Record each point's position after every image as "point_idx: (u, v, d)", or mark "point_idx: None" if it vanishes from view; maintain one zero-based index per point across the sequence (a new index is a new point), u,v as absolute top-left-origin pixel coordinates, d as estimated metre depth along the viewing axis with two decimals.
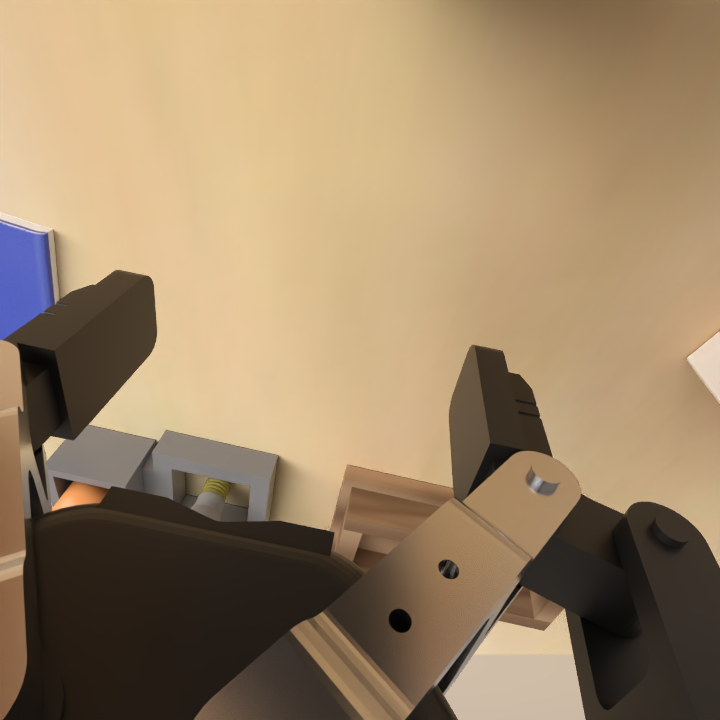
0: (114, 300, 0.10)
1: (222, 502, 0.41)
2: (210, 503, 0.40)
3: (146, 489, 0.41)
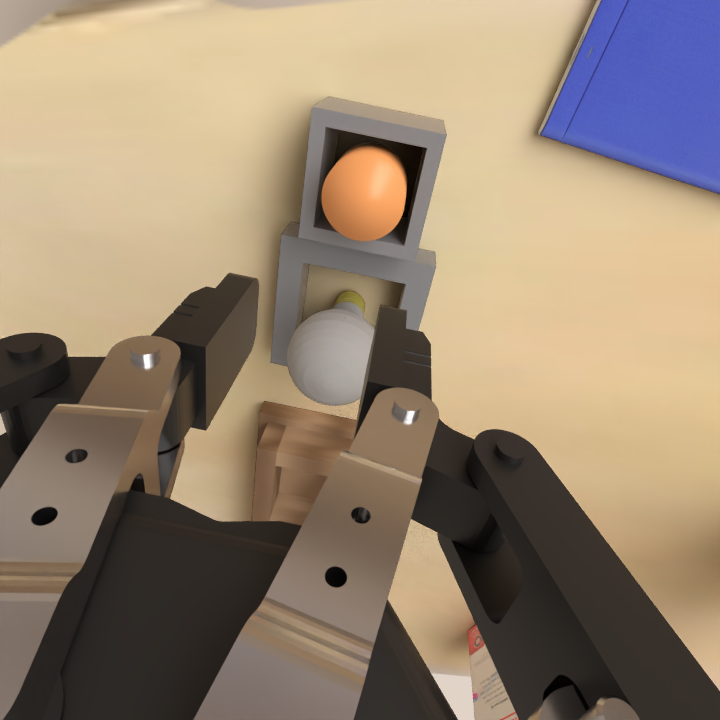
0: (237, 301, 0.11)
1: None
2: None
3: None
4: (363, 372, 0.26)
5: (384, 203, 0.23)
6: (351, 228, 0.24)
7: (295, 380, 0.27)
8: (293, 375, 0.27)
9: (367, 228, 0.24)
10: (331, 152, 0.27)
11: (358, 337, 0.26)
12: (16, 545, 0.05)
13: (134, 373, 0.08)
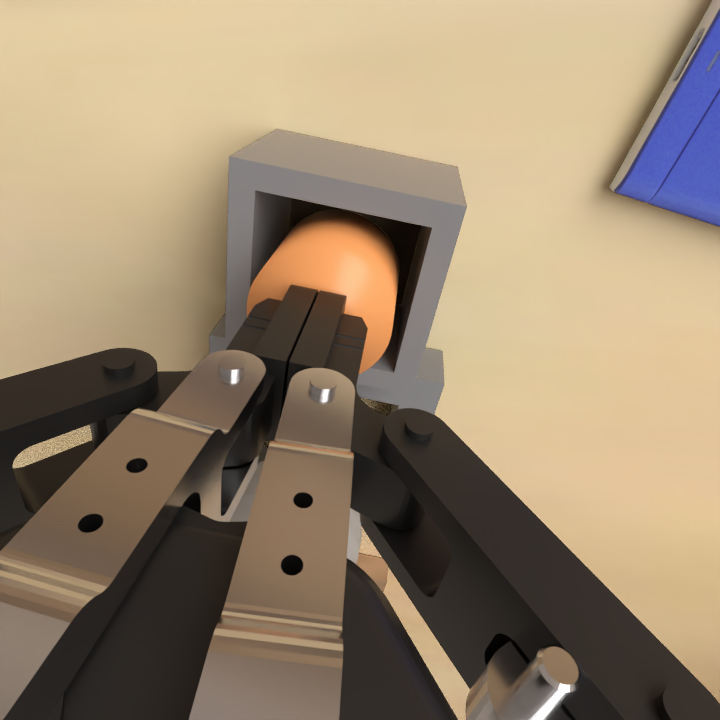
0: (306, 313, 0.11)
1: None
2: None
3: None
4: None
5: None
6: None
7: None
8: None
9: None
10: (279, 217, 0.17)
11: None
12: (57, 547, 0.05)
13: (226, 389, 0.08)
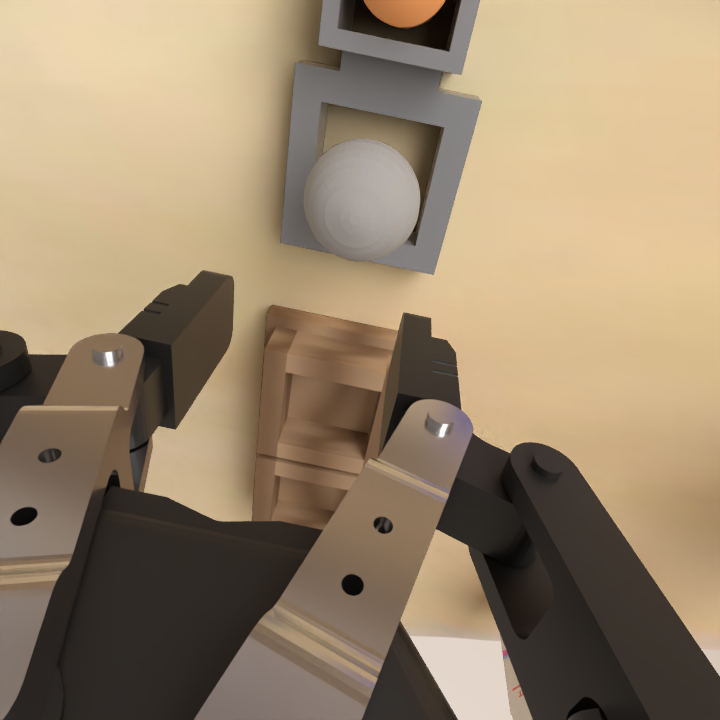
0: (209, 298, 0.11)
1: None
2: None
3: (388, 63, 0.24)
4: (399, 205, 0.21)
5: None
6: (390, 8, 0.20)
7: (314, 222, 0.22)
8: (312, 215, 0.22)
9: (409, 7, 0.20)
10: None
11: (393, 161, 0.21)
12: None
13: (94, 371, 0.08)
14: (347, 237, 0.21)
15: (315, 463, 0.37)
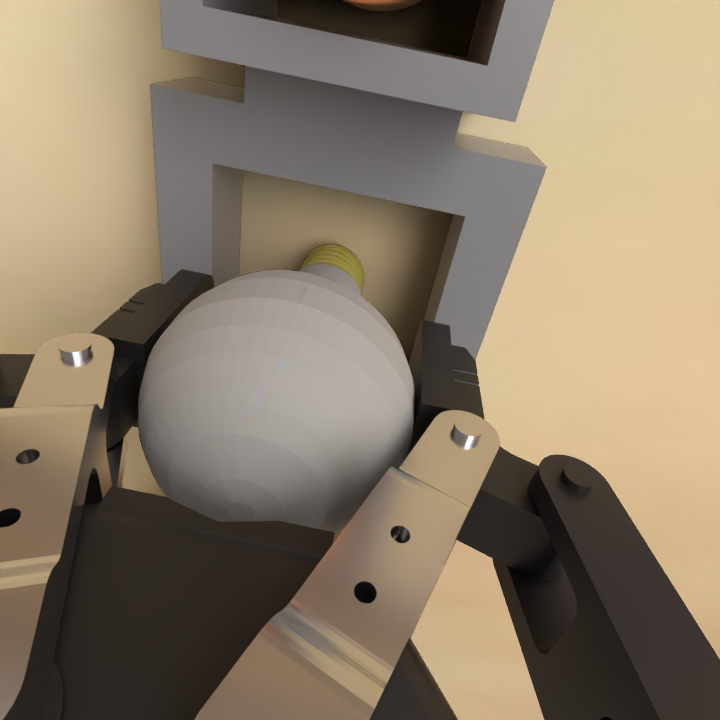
0: (185, 298, 0.11)
1: None
2: None
3: (346, 86, 0.11)
4: (360, 465, 0.08)
5: None
6: None
7: (156, 480, 0.09)
8: None
9: None
10: None
11: (344, 353, 0.08)
12: None
13: (60, 371, 0.08)
14: None
15: None
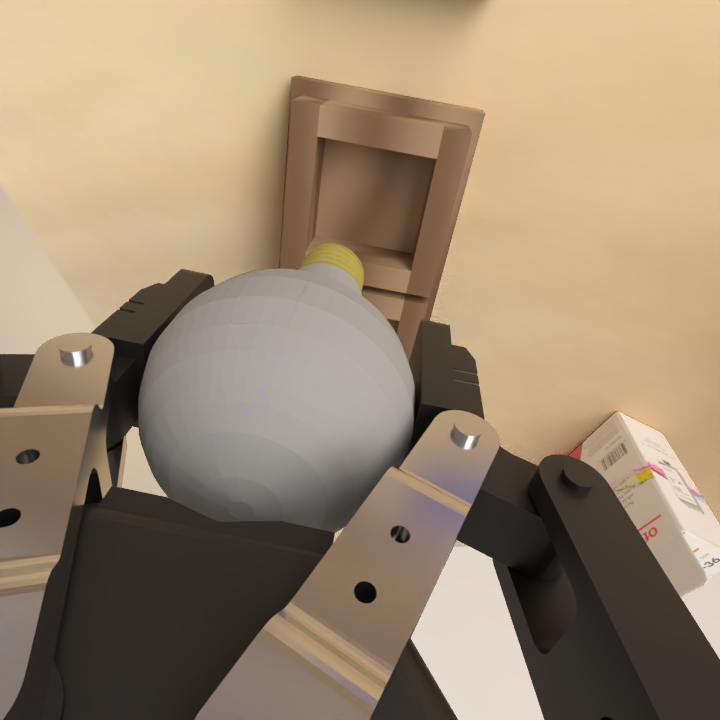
0: (185, 297, 0.11)
1: None
2: None
3: None
4: (360, 464, 0.08)
5: None
6: None
7: (156, 479, 0.09)
8: None
9: None
10: None
11: (344, 351, 0.08)
12: None
13: (60, 371, 0.08)
14: None
15: None
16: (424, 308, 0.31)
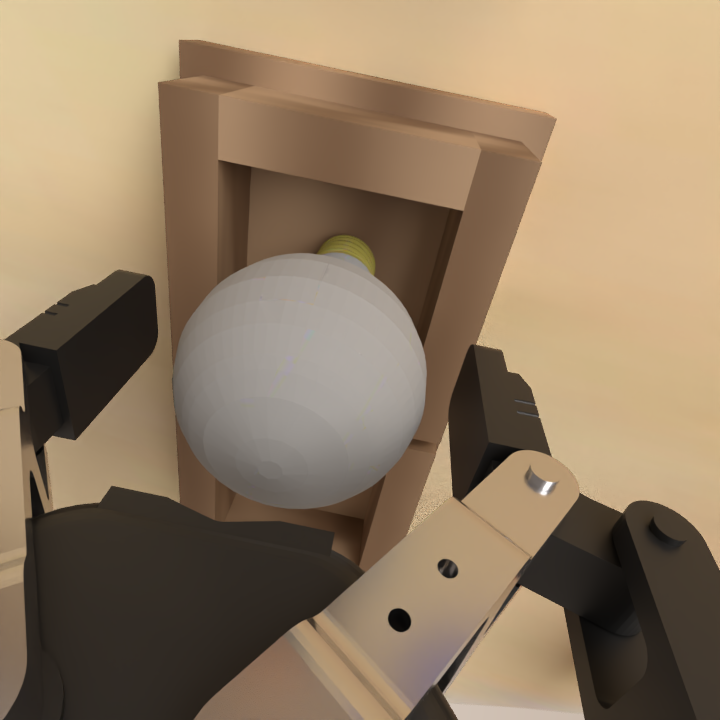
0: (115, 300, 0.10)
1: None
2: None
3: None
4: (378, 428, 0.09)
5: None
6: None
7: (189, 445, 0.10)
8: (183, 433, 0.10)
9: None
10: None
11: (363, 325, 0.09)
12: None
13: None
14: (259, 492, 0.09)
15: None
16: (429, 459, 0.18)
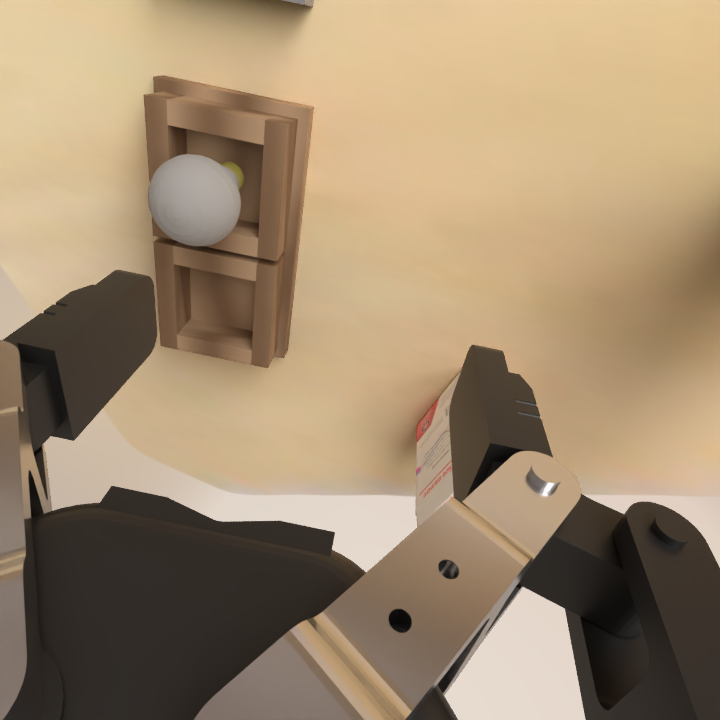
0: (114, 300, 0.10)
1: None
2: None
3: None
4: (211, 203, 0.28)
5: None
6: None
7: (153, 216, 0.29)
8: (151, 211, 0.29)
9: None
10: None
11: (206, 171, 0.28)
12: None
13: None
14: (175, 227, 0.29)
15: (211, 245, 0.37)
16: (273, 270, 0.37)
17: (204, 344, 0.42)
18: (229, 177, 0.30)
